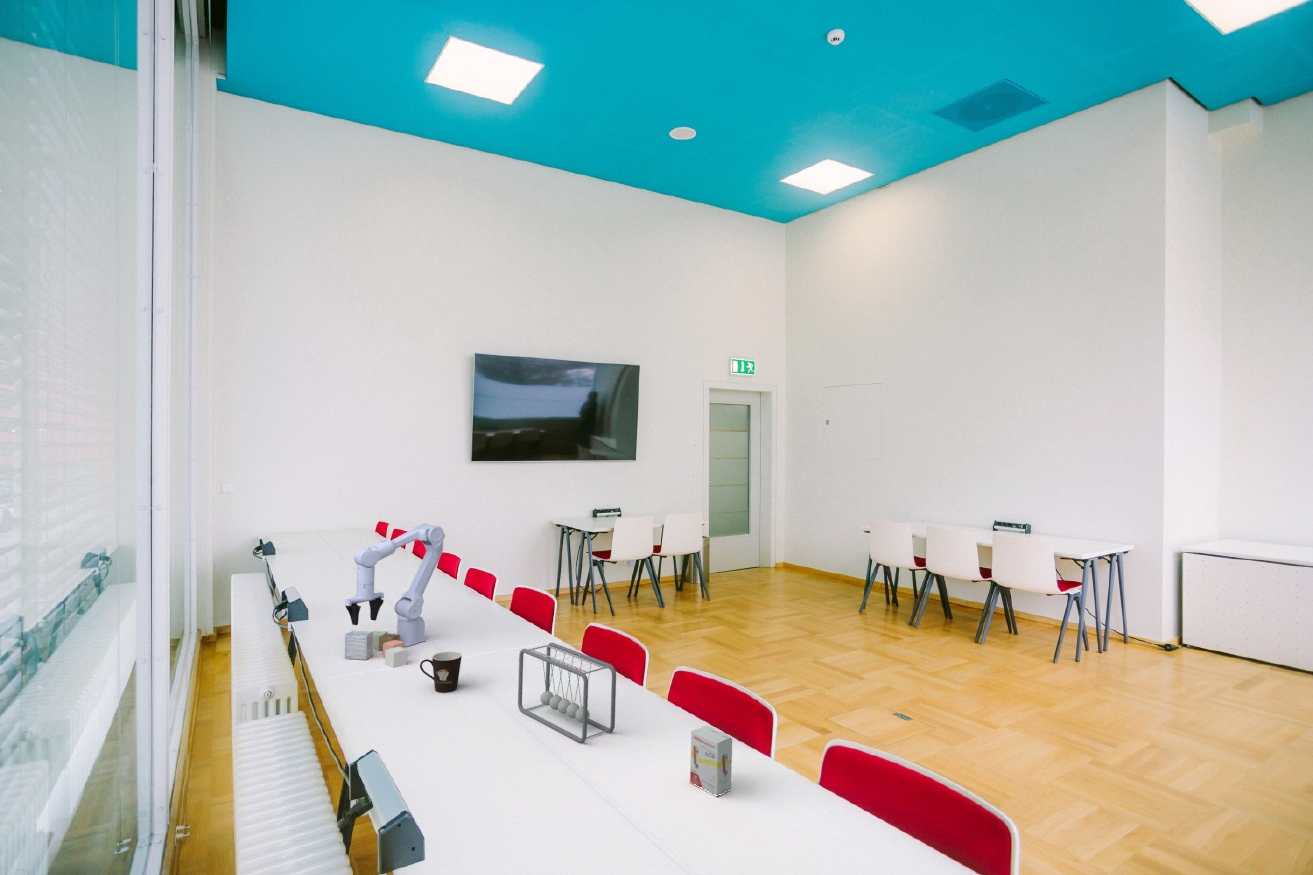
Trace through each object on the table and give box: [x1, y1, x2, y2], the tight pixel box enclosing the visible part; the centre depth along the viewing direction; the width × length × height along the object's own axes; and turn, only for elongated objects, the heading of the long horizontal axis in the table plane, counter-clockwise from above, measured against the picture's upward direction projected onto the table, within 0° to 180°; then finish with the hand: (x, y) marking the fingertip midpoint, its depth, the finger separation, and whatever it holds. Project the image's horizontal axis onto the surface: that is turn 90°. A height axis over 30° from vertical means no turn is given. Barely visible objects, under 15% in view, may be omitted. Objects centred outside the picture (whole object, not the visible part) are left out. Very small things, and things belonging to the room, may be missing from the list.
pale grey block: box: [384, 647, 409, 669], centre depth 227 cm, size 5×5×5 cm
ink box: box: [689, 725, 733, 795], centre depth 151 cm, size 9×5×12 cm, turn 42°
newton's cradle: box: [517, 642, 617, 744], centre depth 184 cm, size 30×10×18 cm, turn 45°
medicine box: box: [344, 630, 374, 661], centre depth 233 cm, size 8×4×9 cm, turn 84°
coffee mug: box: [419, 651, 463, 694], centre depth 206 cm, size 12×9×10 cm
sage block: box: [372, 630, 389, 650], centre depth 246 cm, size 5×5×5 cm
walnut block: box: [378, 632, 400, 652], centre depth 243 cm, size 5×5×5 cm
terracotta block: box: [382, 640, 406, 659], centre depth 235 cm, size 5×5×5 cm
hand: (364, 622), depth 239 cm, fingers open, 7 cm apart
